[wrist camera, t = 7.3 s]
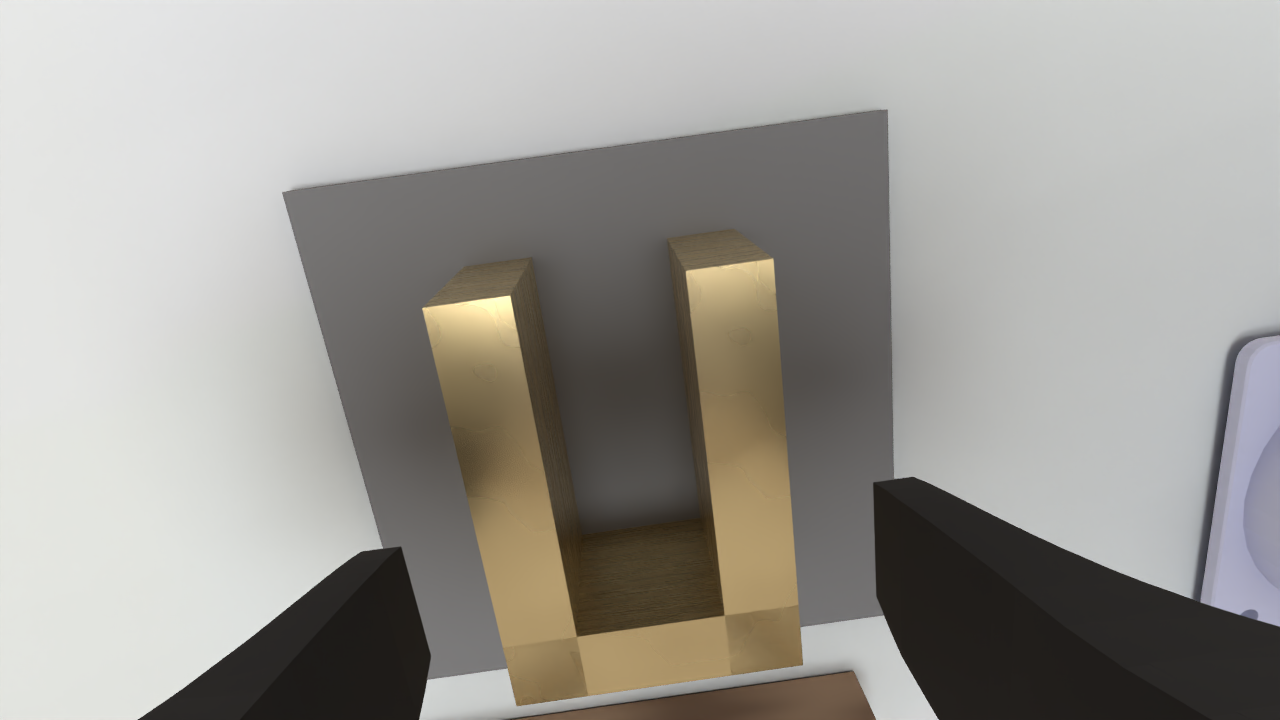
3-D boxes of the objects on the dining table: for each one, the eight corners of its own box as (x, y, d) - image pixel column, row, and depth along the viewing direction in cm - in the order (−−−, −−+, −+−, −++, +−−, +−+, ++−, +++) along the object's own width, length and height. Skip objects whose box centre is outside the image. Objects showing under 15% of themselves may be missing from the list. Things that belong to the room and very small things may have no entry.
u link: (763, 560, 17) (803, 665, 14) (533, 593, 17) (516, 706, 14) (734, 228, 14) (773, 258, 11) (463, 266, 14) (421, 307, 11)
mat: (880, 110, 14) (887, 109, 14) (890, 603, 18) (895, 613, 18) (290, 191, 14) (282, 192, 14) (424, 669, 18) (420, 680, 18)
